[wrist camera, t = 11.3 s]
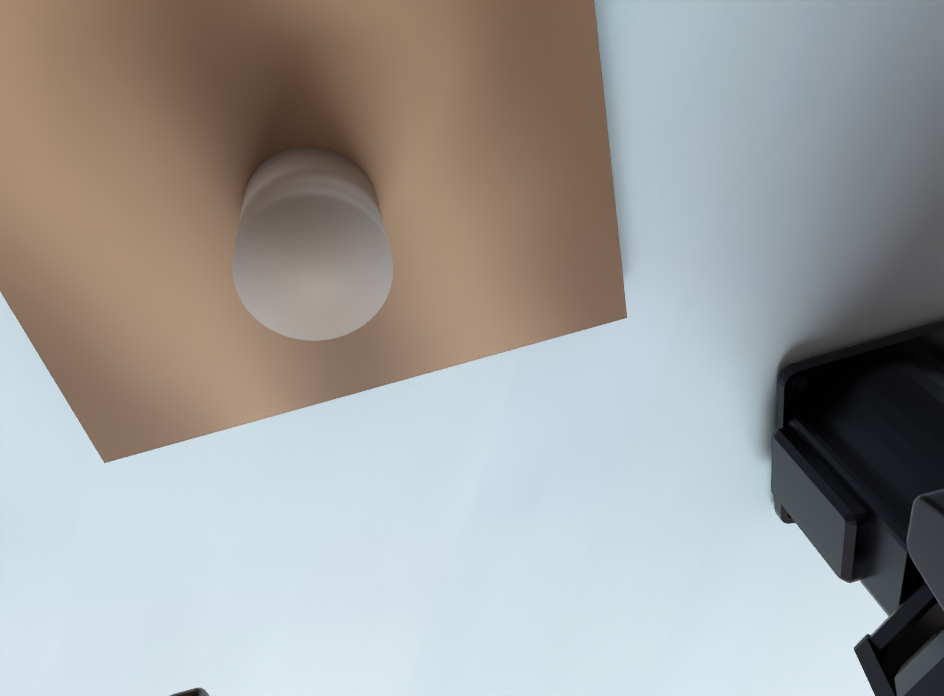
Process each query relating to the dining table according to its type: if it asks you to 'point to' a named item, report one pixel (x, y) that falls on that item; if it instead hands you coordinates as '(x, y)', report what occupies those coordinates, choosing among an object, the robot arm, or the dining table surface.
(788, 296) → the dining table surface
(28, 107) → the post stand
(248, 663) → the dining table surface
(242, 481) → the dining table surface
